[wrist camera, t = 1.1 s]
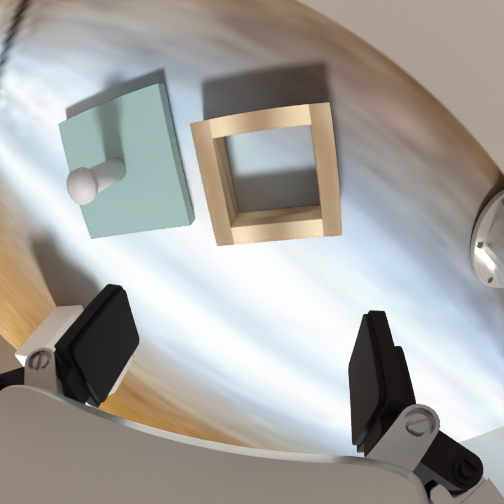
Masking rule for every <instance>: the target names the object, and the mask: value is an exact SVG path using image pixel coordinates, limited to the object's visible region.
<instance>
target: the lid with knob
mask: <svg viewBox="0 0 504 504" xmlns="http://www.w3.org/2000/svg"><path fill="white" fill-rule="evenodd" d="M59 129H60V134H61V138H62V143H63V147H64V151H65V155H66V159H67V163H68V167H69V170H70V174H69V175H68V178H67V190H68V193H69V195H70V197H71V198H72V200H73V201H74V202H76V203H77V204H80V208H81V211H82V214H83V217H84V220H85V223H86V226H87V228H88V231H89V234H90V237H91V239H94V238H100V237H107V236H114V235H121V234H128V233H135V232H142V231H150V230H157V229H165V228H172V227H180V226H188V225H191V224H192V222H193V221H194V220H195V218H194V214H193V210H192V206H191V202H190V197H189V193H188V189H187V185H186V181H185V176H184V172H183V168H182V163H181V159H180V154H179V150H178V145H177V141H176V136H175V131H174V127H173V122H172V117H171V112H170V107H169V102H168V97H167V92H166V87H165V84H162V83H157V84H154V85H151V86H148V87H145V88H142V89H139V90H137V91H134V92H131V93H128V94H126V95H123V96H120V97H118V98H115V99H113V100H110V101H108V102H105V103H103V104H100V105H98V106H96V107H93V108H91V109H89V110H87V111H84V112H82V113H80V114H78V115H76V116H74V117H71V118H69V119H67V120H65V121H63V122H61V123H59Z"/></svg>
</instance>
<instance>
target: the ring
mask: <svg viewBox="0 0 504 504" xmlns="http://www.w3.org/2000/svg"><path fill="white" fill-rule="evenodd" d="M301 125H310V126H311V133H312V141H313V148H314V156H315V164H316V173H317V182H318V191H319V201H320V205H314V206H303V207H293V208H283V209H273V210H264V211H254V212H245V213H239V212H238V207H237V202H236V197H235V192H234V187H233V182H232V177H231V172H230V166H229V161H228V156H227V151H226V146H225V141H224V136H229V135H235V134H241V133H248V132H254V131H261V130H268V129H275V128H283V127H292V126H301ZM190 126H191V131H192V136H193V141H194V145H195V150H196V155H197V160H198V164H199V169H200V173H201V178H202V182H203V187H204V191H205V196H206V200H207V205H208V209H209V213H210V218H211V222H212V226H213V231H214V235H215V239H216V243H217V246H223V245H234V244H245V243H256V242H267V241H279V240H290V239H302V238H313V237H325V236H337V235H342V222H341V206H340V192H339V180H338V169H337V159H336V150H335V141H334V132H333V125H332V117H331V110H330V103H329V102H328V103H316V104H306V105H296V106H288V107H280V108H272V109H265V110H259V111H252V112H246V113H240V114H235V115H229V116H224V117H219V118H214V119H209V120H204V121H200V122H195V123H191V124H190Z"/></svg>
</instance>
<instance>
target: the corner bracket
mask: <svg viewBox="0 0 504 504" xmlns="http://www.w3.org/2000/svg"><path fill="white" fill-rule="evenodd" d="M83 311H84V308H83V307H82V305H73V306H60V307H56V308H55V309H54V310H53V311H52V312H51V313H50V314H49V315H48V317H47V318H46V319H45V320H44V321H43V322H42V323H41V324H40V325H39V326H38V328H37V329H36V330H35V331H34V332H33V333H32V334H31V335H30V337H29V338H28V339H27V340H26V341H25V342H24V343H23V345H22V346H21V347H20V348H19V349H18V351H17V352H16V353H15V356H16V357H17V358H18V360H19V361H20V363H21V364H22V365H23V367H24V366H25V361H26V358H27V357H28V355H29V354H30V353H31V352H33V351H34V350H36V349H38V348H49V349H51V350H52V351H53V352H54V351H55V350H56V349H55V347H54V345H55V344H56V343H57V341H58V340H59V339H60V338H61V337H62V335H63V334H64V333H65V332H66V331H67V329H68V328H69V327H70V326H71V325H72V324H73V322H74V321H75V320H76V319H77V318H78V317H79V315H80V314H81V313H82V312H83ZM134 358H135V357H134V355H133V354H132V356H131V358H130V359H129V361H128V363H127V364H126V366H125V368H124V369H123V371H122V373H121V374H120V376H119V378H118V379H117V381H116V383H115V384H114V386H113V388H112V390H111V391H110V393H109V395H111V394H113V393H114V392H116V390H117V388H118V386H119V385H120V383H121V381H122V379H123V378H124V376H125V374H126V372H127V370H128V369H129V367H130V365H131V363H132V362H133V360H134ZM109 395H108V396H109ZM85 405H88V406H91V405H89V404H88V403H87V402H86V404H85Z"/></svg>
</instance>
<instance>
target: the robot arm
mask: <svg viewBox="0 0 504 504" xmlns="http://www.w3.org/2000/svg"><path fill="white" fill-rule="evenodd" d="M470 255H471V263H472V265H473V269H474V271H475V272H476V274H477V276H478V277H479V278H480V279H481V281H482V282H483V283H485V284H486V285H488V286H490V287H493V288H504V189H503V190H502V191H500V192H499V193H497V194H496V195H495V196H494V197H493V198H492V199H491V200H490V201H489V202H488V204H487V205H486V206H485V208H484V209H483V211H482V212H481V214H480V216H479V218H478V220H477V223H476V225H475V228H474V231H473V235H472V240H471V251H470ZM138 344H139V335H138V332H137V329H136V325H135V322H134V319H133V315H132V312H131V308H130V305H129V301H128V297H127V293H126V291H125V290H123V288H122V286H120V285H113V284H108V285H106V286H105V288H104V289H103V290H102V291H101V292H100V293H99V294H98V295H97V296H96V297H95V299H94V300H93V301H92V302H91V303H90V304H89V305H88V306H87V307H86V309H85V310H84V311H83V312H82V313H81V314H80V315H79V317H78V318H77V319H76V320H75V321H74V322H73V324H72V325H71V326H70V327H69V328H68V329H67V331H66V332H65V333H64V334H63V335H62V337H61V338H60V339H59V340H58V341H57V343H56V344H55V345H54V347H55V349H56V350H55V351H54V352H53V351H52V350H51V349H49V348H38V349H36V350H34V351H33V352H31V353H30V354H29V355H28V357H27V358H26V361H25V366H24V367H21V368H18V369H15V370H12V371H9V372H5V373H2V374H0V504H504V498H503V496H502V495H501V494H500V492H499V491H498V490H497V488H496V487H495V486H494V485H493V483H492V482H491V481H490V479H489V478H488V479H486V480H485V478H484V477H483V476H482V475H483V464H482V462H481V460H480V458H479V457H478V456H477V455H475V454H474V453H472V452H471V451H469V450H468V449H466V448H465V447H463V446H462V445H460V444H459V443H458V442H456V441H455V440H453V439H452V438H450V437H449V436H447V435H446V434H444V433H443V432H441V431H440V430H439V428H440V420H439V417H438V415H437V414H436V412H435V411H434V410H433V409H431V408H430V407H428V406H426V405H422V404H416V400H415V396H414V391H413V387H412V383H411V379H410V375H409V371H408V367H407V363H406V359H405V355H404V352H403V349H402V347H401V346H394V342H393V339H392V335H391V331H390V328H389V324H388V320H387V317H386V313H385V311H374V310H370V311H369V312H368V314H364V315H363V318H362V321H361V325H360V328H359V332H358V336H357V339H356V342H355V346H354V349H353V352H352V356H351V359H350V362H349V367H348V374H349V388H350V405H351V426H352V444H353V445H357V452H364V457H365V458H363V457H354V456H337V455H319V454H303V453H291V452H281V451H271V450H262V449H254V448H247V447H240V446H234V445H228V444H223V443H217V442H212V441H207V440H202V439H197V438H193V437H188V436H184V435H180V434H176V433H172V432H168V431H164V430H160V429H157V428H153V427H150V426H146V425H143V424H140V423H136V422H133V421H130V420H127V419H124V418H121V417H118V416H115V415H112V414H109V413H106V412H104V411H101V410H98V409H96V408H93V407H90V406H88V405H85V404H86V402H87V403H88V404H89V405H92V406H95V407H97V408H98V407H99V405H100V404H101V402H104V401H105V400H106V398H107V396H108V395H109V393H110V391H111V390H112V388H113V386H114V384H115V383H116V381H117V379H118V378H119V376H120V374H121V373H122V371H123V369H124V368H125V366H126V364H127V363H128V361H129V359H130V358H131V356H132V354H133V353H134V351H135V349H136V348H137V346H138Z"/></svg>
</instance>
